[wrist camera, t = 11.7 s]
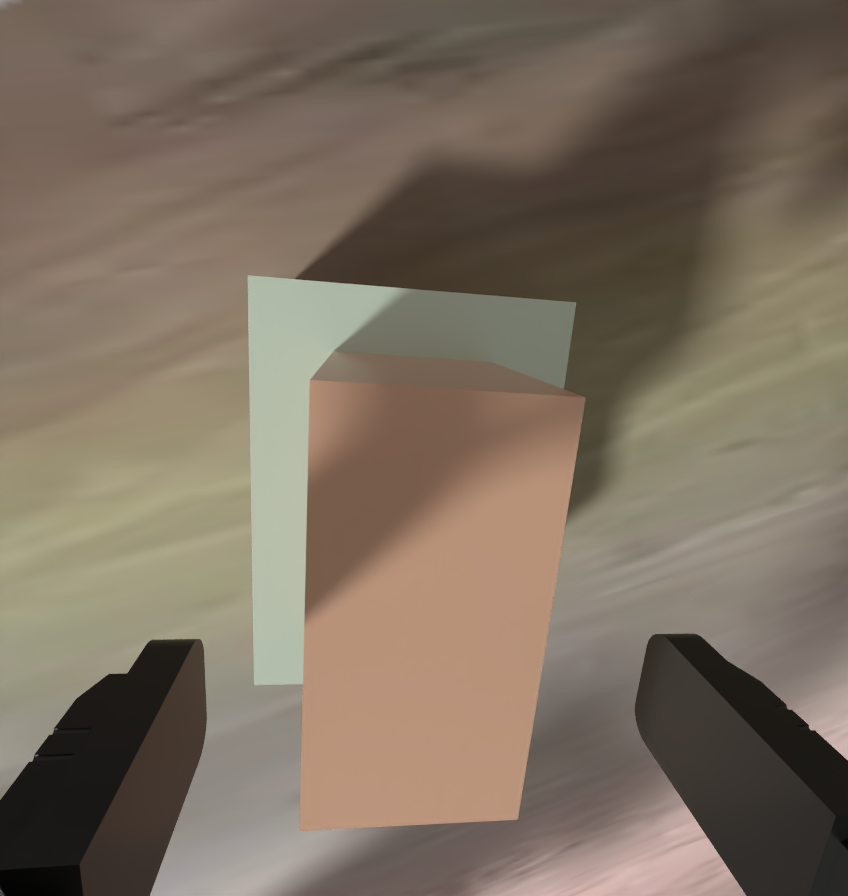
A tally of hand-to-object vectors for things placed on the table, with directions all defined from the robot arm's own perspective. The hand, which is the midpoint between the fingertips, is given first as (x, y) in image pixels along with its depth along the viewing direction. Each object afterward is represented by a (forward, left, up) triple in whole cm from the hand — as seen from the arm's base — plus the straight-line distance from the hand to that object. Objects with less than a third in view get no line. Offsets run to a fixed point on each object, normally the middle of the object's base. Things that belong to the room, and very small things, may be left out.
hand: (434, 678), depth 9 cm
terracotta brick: (0, 0, -8) cm, 8 cm away
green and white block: (0, 0, -15) cm, 15 cm away
